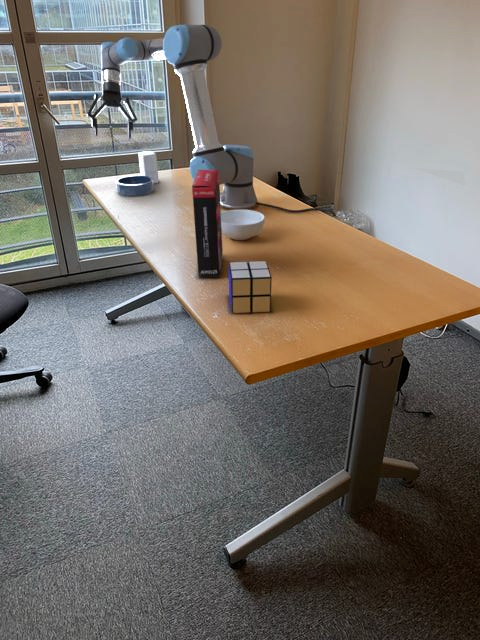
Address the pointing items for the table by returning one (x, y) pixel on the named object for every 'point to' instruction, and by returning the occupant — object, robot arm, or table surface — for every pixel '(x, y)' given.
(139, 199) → the table surface
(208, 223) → the graphics card box
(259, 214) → the cereal bowl
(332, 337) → the table surface
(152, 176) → the small box
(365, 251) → the table surface
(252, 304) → the puzzle cube
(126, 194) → the bowl
